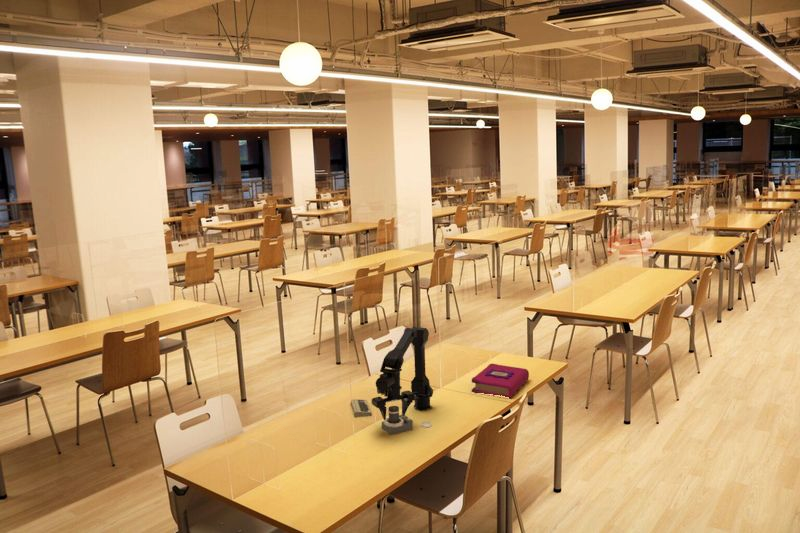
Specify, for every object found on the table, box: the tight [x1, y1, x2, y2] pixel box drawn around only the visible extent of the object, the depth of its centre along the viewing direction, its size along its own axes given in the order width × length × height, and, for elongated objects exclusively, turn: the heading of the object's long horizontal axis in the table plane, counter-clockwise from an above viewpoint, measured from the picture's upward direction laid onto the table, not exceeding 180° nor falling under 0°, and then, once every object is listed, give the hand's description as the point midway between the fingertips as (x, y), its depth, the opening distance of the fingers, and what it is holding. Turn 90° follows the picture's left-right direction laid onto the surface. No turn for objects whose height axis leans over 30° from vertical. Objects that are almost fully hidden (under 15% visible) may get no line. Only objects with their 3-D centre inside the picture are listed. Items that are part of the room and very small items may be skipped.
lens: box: [387, 405, 400, 424], centre depth 295 cm, size 5×5×7 cm
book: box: [471, 363, 530, 398], centre depth 346 cm, size 21×28×8 cm
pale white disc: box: [420, 421, 433, 429], centre depth 301 cm, size 5×5×1 cm
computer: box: [350, 398, 373, 418], centre depth 318 cm, size 16×8×3 cm, turn 10°
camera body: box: [381, 414, 414, 436], centre depth 297 cm, size 11×8×5 cm
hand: (393, 417), depth 295 cm, fingers open, 9 cm apart
